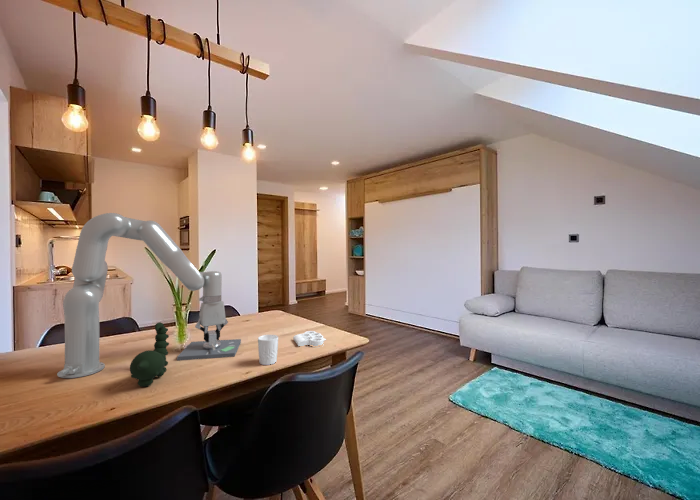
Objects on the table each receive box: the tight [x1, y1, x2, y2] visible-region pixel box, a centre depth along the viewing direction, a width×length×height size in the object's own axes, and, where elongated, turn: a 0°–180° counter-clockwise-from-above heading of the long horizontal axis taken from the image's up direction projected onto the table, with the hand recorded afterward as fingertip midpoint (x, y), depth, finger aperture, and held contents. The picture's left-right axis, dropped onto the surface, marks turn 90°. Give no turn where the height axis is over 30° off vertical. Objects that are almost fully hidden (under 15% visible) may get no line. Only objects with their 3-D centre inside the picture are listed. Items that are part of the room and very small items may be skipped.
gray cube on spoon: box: [203, 329, 221, 350], centre depth 131 cm, size 7×14×6 cm, turn 30°
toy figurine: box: [129, 321, 170, 388], centre depth 106 cm, size 9×19×25 cm
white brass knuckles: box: [292, 330, 327, 347], centre depth 148 cm, size 3×18×15 cm
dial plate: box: [176, 338, 242, 361], centre depth 134 cm, size 20×22×2 cm
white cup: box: [257, 334, 279, 366], centre depth 121 cm, size 8×8×10 cm
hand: (212, 339), depth 134 cm, fingers closed on gray cube on spoon, 3 cm apart
